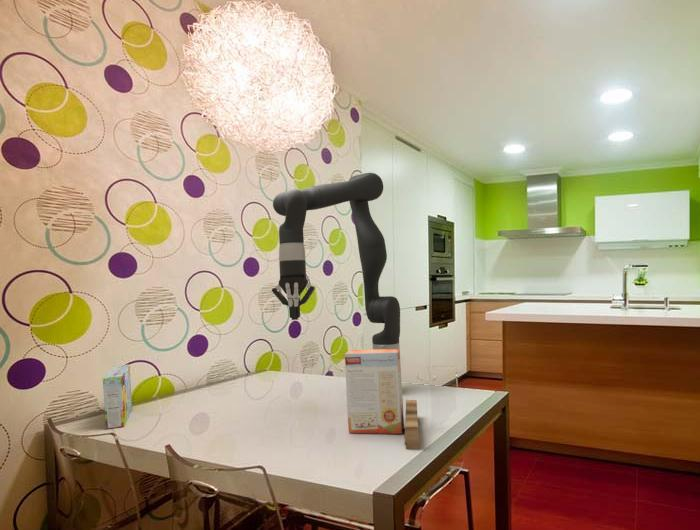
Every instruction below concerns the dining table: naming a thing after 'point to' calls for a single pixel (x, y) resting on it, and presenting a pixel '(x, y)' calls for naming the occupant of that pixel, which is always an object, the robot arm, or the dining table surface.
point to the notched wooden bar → (411, 425)
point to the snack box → (117, 396)
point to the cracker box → (374, 391)
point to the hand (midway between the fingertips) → (295, 319)
